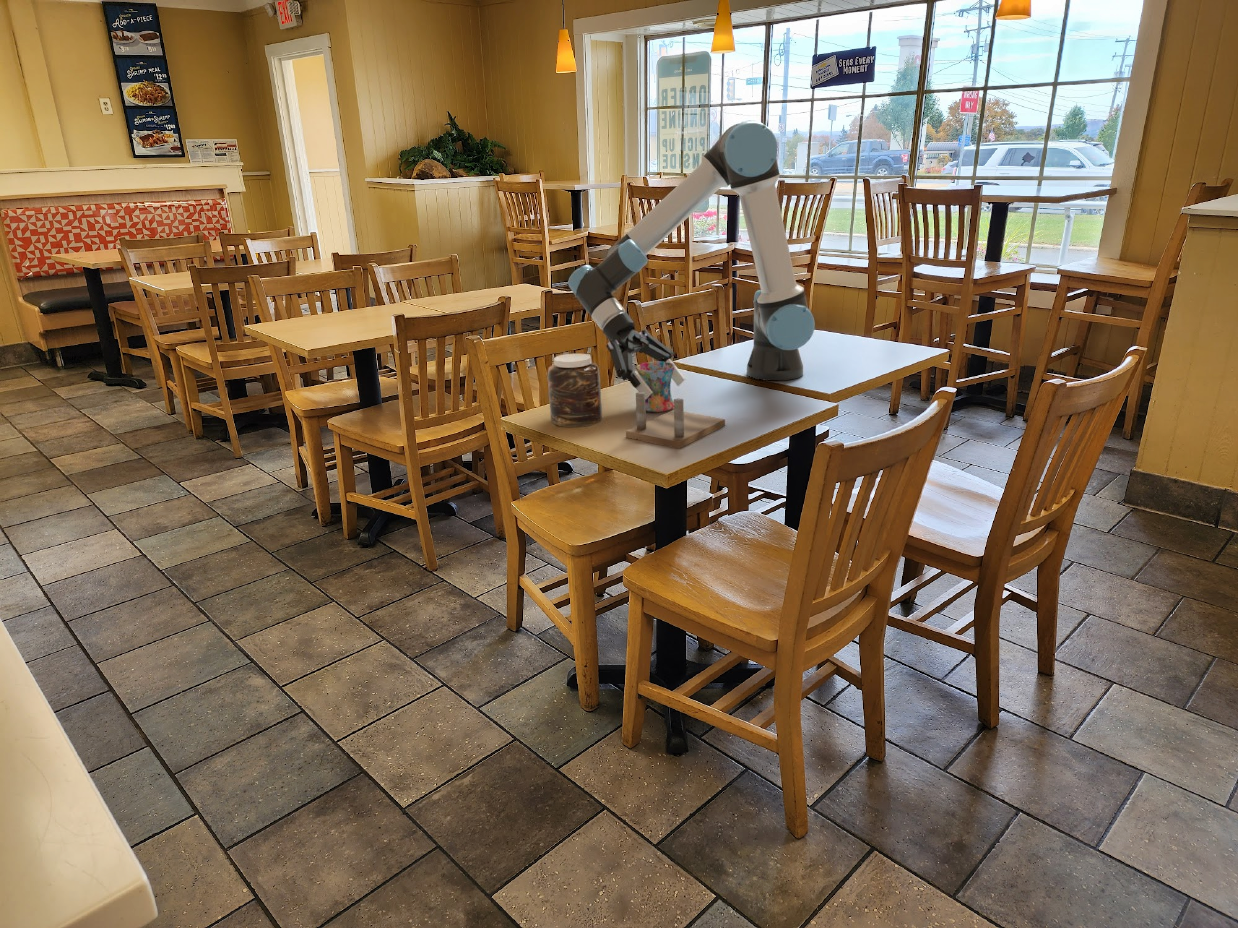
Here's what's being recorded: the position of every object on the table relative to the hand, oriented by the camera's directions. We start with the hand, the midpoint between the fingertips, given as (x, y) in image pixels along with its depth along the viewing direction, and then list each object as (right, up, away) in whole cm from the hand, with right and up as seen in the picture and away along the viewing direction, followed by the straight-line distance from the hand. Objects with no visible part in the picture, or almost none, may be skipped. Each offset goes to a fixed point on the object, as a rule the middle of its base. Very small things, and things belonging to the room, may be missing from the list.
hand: (665, 389), depth 194 cm
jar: (-21, -8, -3) cm, 23 cm away
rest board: (+1, -11, -15) cm, 18 cm away
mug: (-1, -4, +3) cm, 5 cm away
